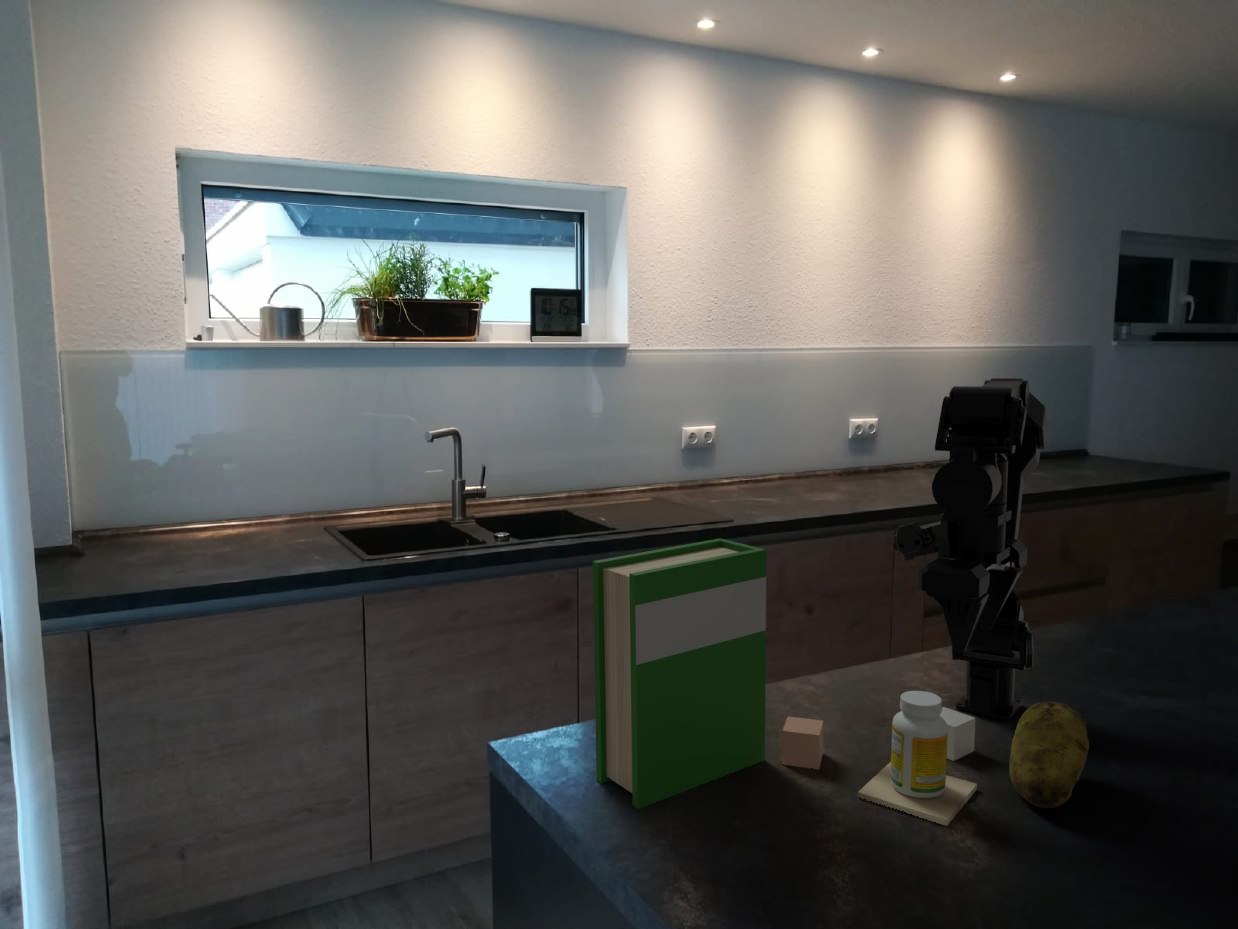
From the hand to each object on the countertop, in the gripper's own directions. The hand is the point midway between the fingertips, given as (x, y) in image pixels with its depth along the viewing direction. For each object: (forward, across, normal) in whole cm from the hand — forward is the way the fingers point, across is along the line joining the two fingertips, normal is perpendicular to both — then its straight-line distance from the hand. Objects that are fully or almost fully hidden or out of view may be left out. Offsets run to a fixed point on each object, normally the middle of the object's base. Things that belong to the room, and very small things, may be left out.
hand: (972, 640), depth 99 cm
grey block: (+13, +1, -2) cm, 13 cm away
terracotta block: (+13, +13, -14) cm, 23 cm away
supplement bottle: (+13, +13, -1) cm, 18 cm away
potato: (+13, +4, +9) cm, 16 cm away
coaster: (+13, +13, -1) cm, 18 cm away
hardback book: (+13, +23, -23) cm, 35 cm away
